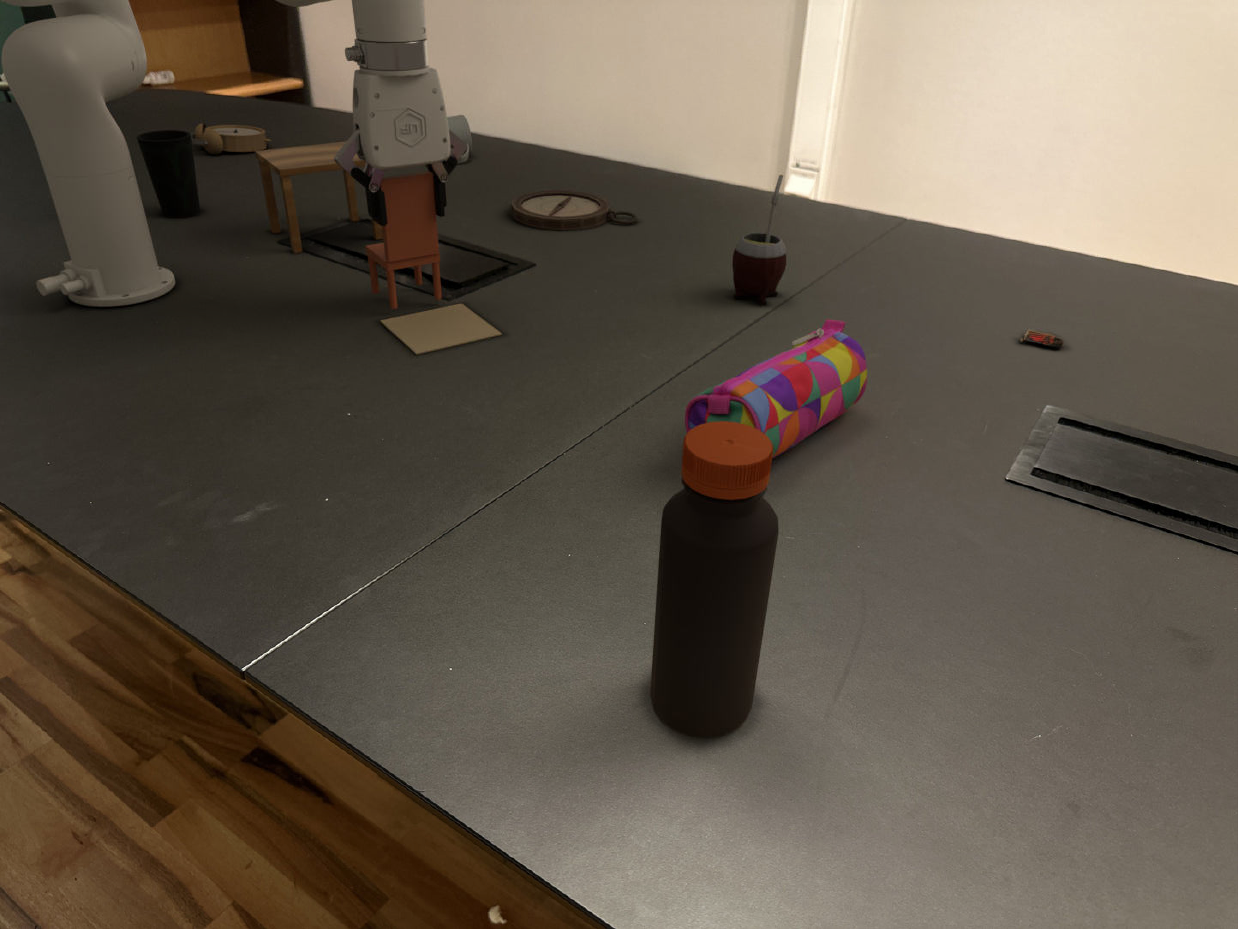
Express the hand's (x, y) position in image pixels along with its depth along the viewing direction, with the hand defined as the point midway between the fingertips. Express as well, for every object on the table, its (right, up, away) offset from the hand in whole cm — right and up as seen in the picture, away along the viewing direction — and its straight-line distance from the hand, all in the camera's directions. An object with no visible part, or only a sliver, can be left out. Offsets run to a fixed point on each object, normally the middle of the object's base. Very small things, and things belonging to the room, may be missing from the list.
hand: (408, 216), depth 108 cm
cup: (-45, +11, +37) cm, 60 cm away
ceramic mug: (-8, +32, +73) cm, 80 cm away
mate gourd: (+44, -7, +14) cm, 46 cm away
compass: (+17, +11, +41) cm, 46 cm away
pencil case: (+41, -27, -18) cm, 52 cm away
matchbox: (+78, -14, +4) cm, 79 cm away
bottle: (+31, -46, -48) cm, 73 cm away
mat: (+3, -13, +2) cm, 14 cm away
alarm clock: (-53, +34, +73) cm, 97 cm away
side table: (-20, +5, +30) cm, 36 cm away
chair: (-2, -8, +8) cm, 12 cm away
